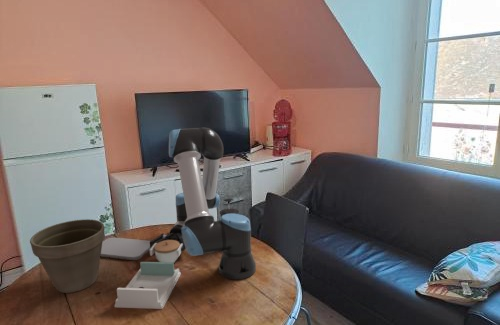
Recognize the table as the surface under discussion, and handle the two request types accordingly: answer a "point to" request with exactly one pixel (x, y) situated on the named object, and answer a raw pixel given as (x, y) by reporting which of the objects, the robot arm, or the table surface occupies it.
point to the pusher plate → (157, 268)
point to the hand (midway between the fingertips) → (164, 253)
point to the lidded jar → (166, 251)
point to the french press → (229, 211)
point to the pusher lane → (147, 291)
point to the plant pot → (70, 253)
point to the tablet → (124, 248)
